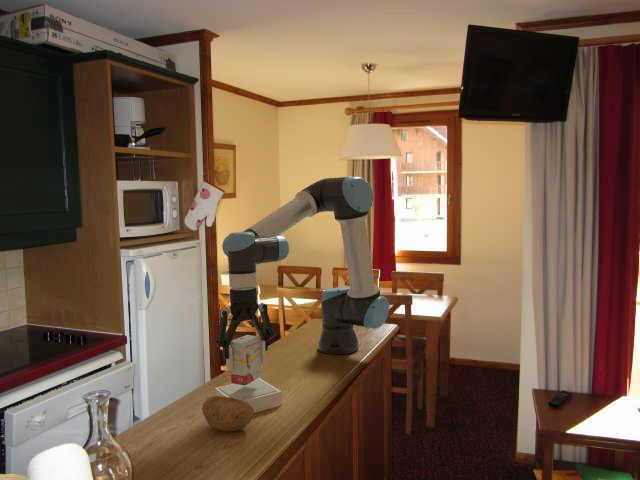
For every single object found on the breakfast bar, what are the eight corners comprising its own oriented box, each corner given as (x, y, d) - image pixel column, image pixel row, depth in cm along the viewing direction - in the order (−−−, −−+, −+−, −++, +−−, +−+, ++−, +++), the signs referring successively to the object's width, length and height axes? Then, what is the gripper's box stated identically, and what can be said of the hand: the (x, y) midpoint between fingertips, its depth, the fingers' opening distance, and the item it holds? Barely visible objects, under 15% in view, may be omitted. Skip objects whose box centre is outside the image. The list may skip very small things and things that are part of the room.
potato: (242, 442, 127) (241, 410, 126) (195, 433, 132) (193, 402, 132) (263, 425, 136) (262, 395, 135) (217, 417, 141) (216, 388, 141)
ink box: (244, 386, 144) (243, 344, 143) (230, 383, 147) (228, 342, 146) (262, 376, 152) (261, 336, 151) (249, 373, 154) (247, 334, 153)
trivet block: (259, 390, 160) (258, 376, 159) (281, 405, 148) (281, 390, 148) (215, 401, 152) (214, 387, 152) (235, 418, 140) (235, 402, 140)
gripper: (271, 281, 156) (274, 355, 158) (200, 290, 144) (204, 370, 146) (284, 284, 150) (287, 361, 152) (210, 294, 138) (214, 378, 140)
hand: (246, 365), depth 149 cm, fingers closed on ink box, 9 cm apart
